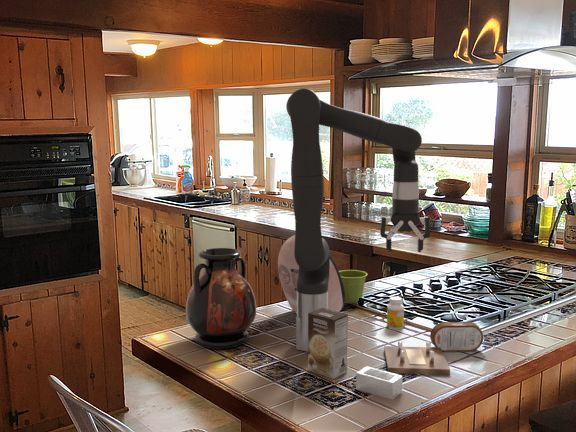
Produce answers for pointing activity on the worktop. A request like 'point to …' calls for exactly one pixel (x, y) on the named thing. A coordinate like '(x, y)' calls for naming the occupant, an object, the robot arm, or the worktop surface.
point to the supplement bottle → (395, 313)
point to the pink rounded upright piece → (291, 271)
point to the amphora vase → (220, 300)
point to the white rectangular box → (379, 382)
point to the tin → (456, 336)
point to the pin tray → (416, 360)
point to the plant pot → (353, 284)
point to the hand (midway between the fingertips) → (404, 251)
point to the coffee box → (327, 342)
